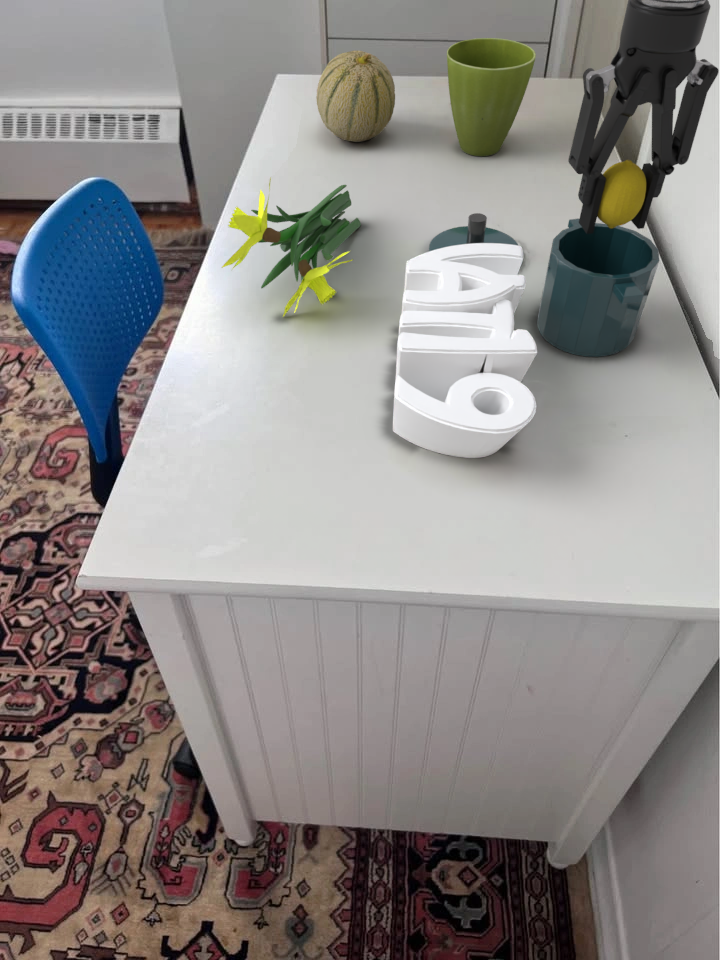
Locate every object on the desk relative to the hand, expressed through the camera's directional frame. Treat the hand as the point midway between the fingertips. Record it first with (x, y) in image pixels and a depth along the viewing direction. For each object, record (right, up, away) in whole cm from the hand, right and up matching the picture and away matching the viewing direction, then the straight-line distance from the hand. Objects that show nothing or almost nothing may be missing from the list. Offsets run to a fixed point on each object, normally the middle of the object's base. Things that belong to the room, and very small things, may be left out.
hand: (611, 224), depth 85 cm
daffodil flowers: (-37, 0, +21) cm, 43 cm away
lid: (-13, +4, +23) cm, 26 cm away
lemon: (0, 0, 0) cm, 1 cm away
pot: (0, -10, +11) cm, 15 cm away
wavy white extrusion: (-17, -17, +5) cm, 25 cm away
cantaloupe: (-30, +35, +52) cm, 70 cm away
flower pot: (-7, +31, +48) cm, 58 cm away
